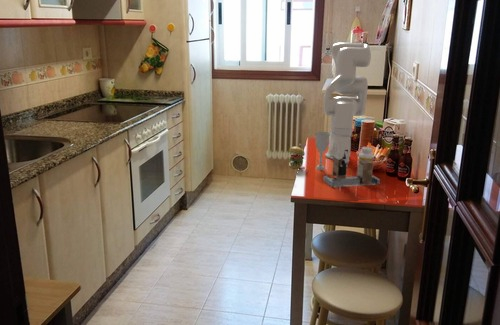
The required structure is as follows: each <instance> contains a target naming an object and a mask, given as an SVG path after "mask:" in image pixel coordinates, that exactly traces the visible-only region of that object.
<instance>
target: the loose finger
mask: <svg viewBox="0 0 500 325" xmlns="http://www.w3.org/2000/svg"><path fill="white" fill-rule="evenodd" d="M342 159H345V158H342ZM332 161H333V162H332V173H331V176H333V177H335V178H336V179H346V177H347V173H348V166H347V167H346V175H341V176H339V175H338V172H339V166H340V160H338V159H336V158H335V157H334V159H332ZM343 161H345V160H342V163H343Z"/></svg>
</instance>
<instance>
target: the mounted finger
mask: <svg viewBox="0 0 500 325" xmlns="http://www.w3.org/2000/svg"><path fill="white" fill-rule="evenodd" d="M358 161H359V164H358V163H357V164H358V165H357V171H358V172H357V171H356V172H357V174H356V175H357V176H360V177H361V178H362V184H363V183H371V178H372V175H373V170H372V168H374V162H373V163H372V162H370V161H369V160H359V159H358Z"/></svg>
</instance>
